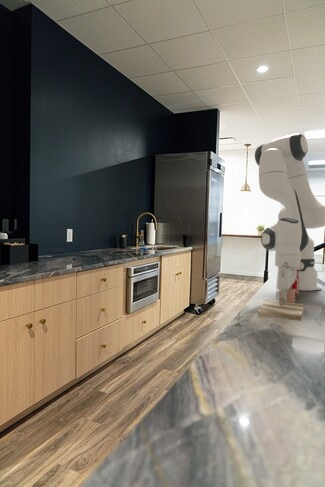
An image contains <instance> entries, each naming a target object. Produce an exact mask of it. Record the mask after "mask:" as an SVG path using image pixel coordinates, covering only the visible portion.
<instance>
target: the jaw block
mask: <svg viewBox="0 0 325 487" xmlns="http://www.w3.org/2000/svg"><path fill="white" fill-rule="evenodd" d="M280 297H282V295H281V290H280V289H279V298H280ZM295 300H296V297H295V289H288V291H287V300H286V301H285V302H289V303H296V301H295Z"/></svg>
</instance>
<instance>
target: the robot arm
mask: <svg viewBox="0 0 325 487" xmlns="http://www.w3.org/2000/svg"><path fill="white" fill-rule="evenodd" d="M308 145H309V144H308V141H307V139H306V136H305V135H303V134H302V133H293V134H291V135H286V136H282V137H279V138H276V139H274V140H271V141H269V142H267V143H263V144H260V145H259V146H258V147H256V149H255V151H254V159H255V163H256V165H258V185H259V188H260V189H259V190H260V191H261V192H262V194H263V195H265V197H267V198H270V199H271V200H274V201H276V202H278V203H279V204H281V205H283V208H281V210H279V213H278V215H277V217H278V220H277V222H276V223H275V224H274V225H271V226H269V227H267V228H265V229H264V230H263V231H262V233H261V236H260V242H261V246H263V248H264V249H265V250H266V251H271V252H273V251H274V252H275V257H274V259H275V260H274V266H276V267H278V268H277V269H278V271H277V289H278V290H279V291H280V290H281V295H282V297H284V298H285V301H286V300H287V291H288V289H291V288H292V285H293V283H294V282H295V279H296V273H297V268H298V271H299V291H318V290H319V291H322V288H323V287H321V286H320V285H319V284H318V282H319V279H318V271H317V269H316V268H315V264H316V261H315V257H314V256H315V255H314V254H315V241H314V240H313V239H312V238H311V237H310V236H309V234H308V232H307V231H308V230H307V229H311V230H312V229H314V230H315V229H318V228H319V229H320V228H323V227H325V205H324V204H323V203H320V202H319V201H318V199H317V197H315V195H314V193H313V192H312V189H311V186H310V182H309V178H308V174H307V169H306V166H305V162H304V160H303V159H304V158H305V157H306V155H307V153H308V150H309V149H308V147H309V146H308Z"/></svg>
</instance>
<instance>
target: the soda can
mask: <svg viewBox="0 0 325 487" xmlns="http://www.w3.org/2000/svg"><path fill="white" fill-rule="evenodd" d="M291 289H295V298H297V297H298V296H299V292H300V290H299V271H298V268H297V273H296V279H295V282H294V283H293V285H292V288H291Z"/></svg>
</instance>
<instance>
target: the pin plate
mask: <svg viewBox="0 0 325 487" xmlns="http://www.w3.org/2000/svg"><path fill="white" fill-rule="evenodd" d="M304 310H305V304H304V303H296V302H295V303H289V302H285V298H284V297H280V296H279V300H271V299H270V300H269V299H265V301H264V302H263V303H262V305H261V306H260V307H259V309H258V310H257V316H261V317H262V316H263V317H270V318H276V319H283V320H285V319H286V320H293V321H300V322H301V321H302V319H303V318H302V317H303V315H304Z"/></svg>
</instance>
